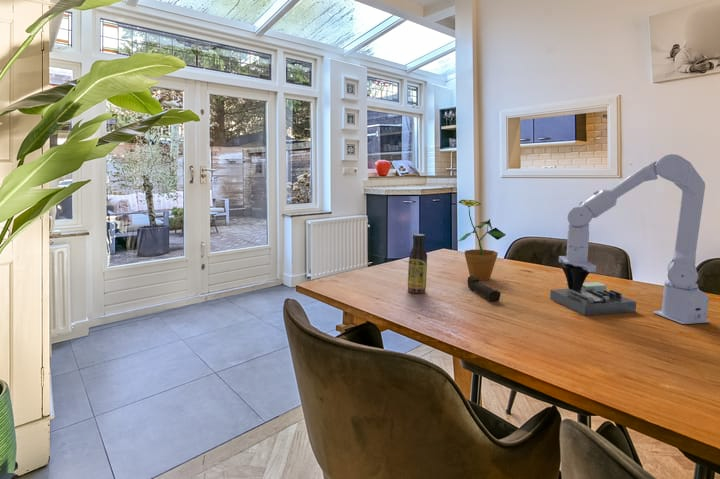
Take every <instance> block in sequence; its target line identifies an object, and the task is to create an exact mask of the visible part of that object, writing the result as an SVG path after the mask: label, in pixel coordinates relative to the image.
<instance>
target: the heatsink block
mask: <svg viewBox="0 0 720 479" xmlns="http://www.w3.org/2000/svg"><path fill="white" fill-rule="evenodd" d="M581 290H583V291H586V292H588V293H590V294H593V295H595V296H597V297H600V298H603V299H604V301H603V302H594V298H592V297H587V299H586V298H584V297H582V296H580V295H578V294H575V293H573V292H571V291H569V290H566V288H561V289H559V288H558V289H550V295H549V296H550V297H549V299H550V300H552V301H553V302H555V303H557V304H559V305H561V306H564V307H565V308H568V309H569V310H572V311H574V312H575V313H578V314H580V315H582V316H596V315H597V316H598V315H610V314H611V315H612V314H625V313H636V309H637V301H635V300H633V299H630V298H628V297H626V296H623V293H621V292H620V291H616V290H613V289H609V291H608V290H607V289H606V290H604V292H602V291H598V292H595V291H590V290H587V289H584V288H581Z"/></svg>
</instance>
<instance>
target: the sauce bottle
mask: <svg viewBox="0 0 720 479" xmlns="http://www.w3.org/2000/svg"><path fill="white" fill-rule="evenodd" d="M425 239H426V234H424V233H414V234H413V235H412V240H413V241H412V243H413V244H412V247H411V248H412V249H411V250H410V252H409V257H408V269H407V271H408V273H407V291H408V292H410V293H413V294H422V293H425V292H426V289H427V273H428V254H427V252H426V250H425Z"/></svg>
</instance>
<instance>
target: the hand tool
mask: <svg viewBox="0 0 720 479" xmlns="http://www.w3.org/2000/svg"><path fill="white" fill-rule="evenodd" d="M466 280H467V287H468V289H469V290H470V291H471V292H476V293H477V294H479V295H481V296H483V297H484V298H485V299H487V301H488V302H489V303H497V302H499V301H500V298H501V292H500V291H499V290H496V289H493V288H492V287H491V286H488V285H486V284H484V283H482V282H480V280H479V279H477V278H475V277H473V276H470V275H469V276H467V279H466Z"/></svg>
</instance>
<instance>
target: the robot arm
mask: <svg viewBox="0 0 720 479" xmlns="http://www.w3.org/2000/svg"><path fill="white" fill-rule="evenodd" d="M658 176H659V177H660V178H663V179H664V180H667V181H669V182H671V183H673V184H674V185H675V186H676V187H678V189H680V190H681V198H680V199H681V200H680V207H679V213H678V222H677V230H676V236H675V237H676V238H675V245H674V250H673V251H674V252H673V257H672V260H671V261H670V262H669V263H668V265H667V280H665V281H664V283H663V293H662V301H661V302H662V305H661V310H654V311H653V314H655V315H658V316H660V317H663V318H666V319H668V320H671V321H674V322H676V323H678V324H681V325H690V324H691V325H692V324H693V325H695V324H704V323H709V322H710V321H709V319H707V318H708V311H709V310H708V308H709V304H710V302H709V299H710V298H709V296H708V294H707V293H706V292H704V291H702V290H700V288H699V284H698V283H697V282H698V280H699V273H698V271H697V267H696V260H697V255H696V254H697V246H698V240H699V232H700V227H701V226H700V225H701V219H702V218H701V217H702V213H703V204H704V198H705V197H704V196H705V191H706V182H705V180H703V178H702V177H701V175H700V173H698V171H697V170H696V169H695V167H694V166H693V164H692V162H690V161H689V160H688V159H686V158H684V157H683V156H682V155H680V154H673V153H671V154H667V155H663V156H662V157H661V158H659V160H658V161H657V160H655V161H653V162H651V163H648V164H646V165H645V166H643V167H641V168H639V169H638V170H637V171H635V172H634V173H633V174H631V175H629V176H628V177H627V178H625V179H623V180H622V181H621V182H619V183H618V184H616V185H615V186H614V187H613V188H611V189H601V190H596V191H594V192H593V194H592V196H589V198H588V199H586V200H584V201H581V202H579V203H578V204H579V206H574V207H573V208H572V209H571V210H570V211H568V214H567V222H568V231H567V240H566V255H558V263H562V264H565V265H562V266H561V269H562V271H563V273H564V275H565V278H566V282H567V288H573V290H574V291H577V290H581V288H582V285H583V283H585V281H586V278H587V277H588V276H589V275H590V273H596V272H597V265H595V264H593V263H591V262H590V261H588V256H589V241H590V223H591V221H592V219H597V218H598V217H600V216H601V215H602V214H604V213H605V212H607V211H609V210H610V209H612V208H614V207H615V206H616V205H617V201H618V199H619V198H620V197H621V196H623V195H624V194H627V193H628V192H630V191H631V190H633V189H635V188H636V187H637V186H639V185H641V184H643V183H645V182H650V181H656V180H658V179H659V178H658Z"/></svg>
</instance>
